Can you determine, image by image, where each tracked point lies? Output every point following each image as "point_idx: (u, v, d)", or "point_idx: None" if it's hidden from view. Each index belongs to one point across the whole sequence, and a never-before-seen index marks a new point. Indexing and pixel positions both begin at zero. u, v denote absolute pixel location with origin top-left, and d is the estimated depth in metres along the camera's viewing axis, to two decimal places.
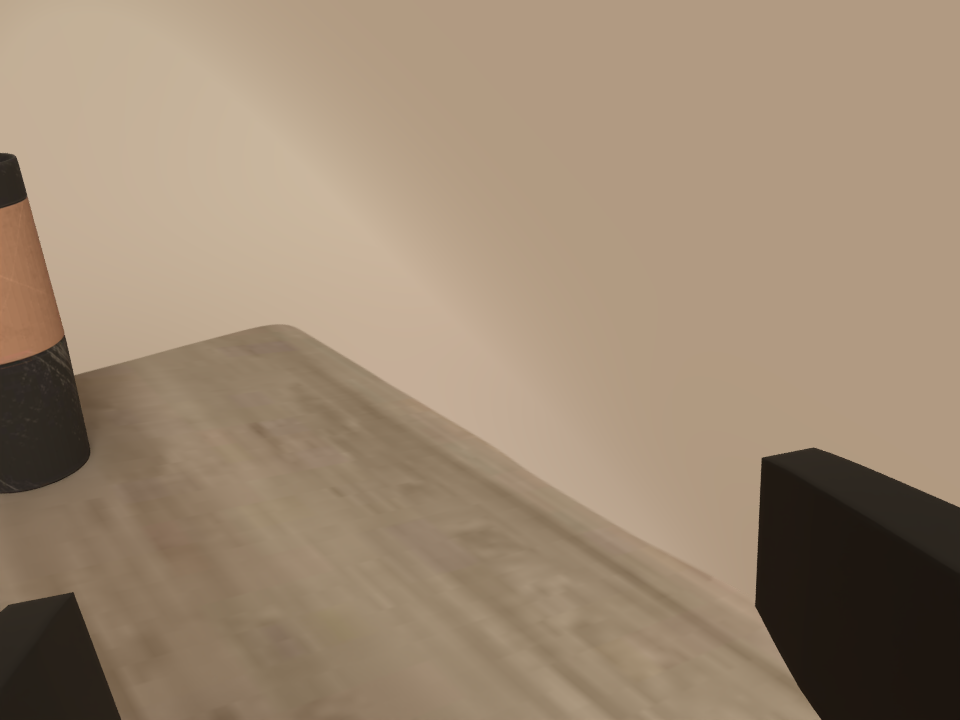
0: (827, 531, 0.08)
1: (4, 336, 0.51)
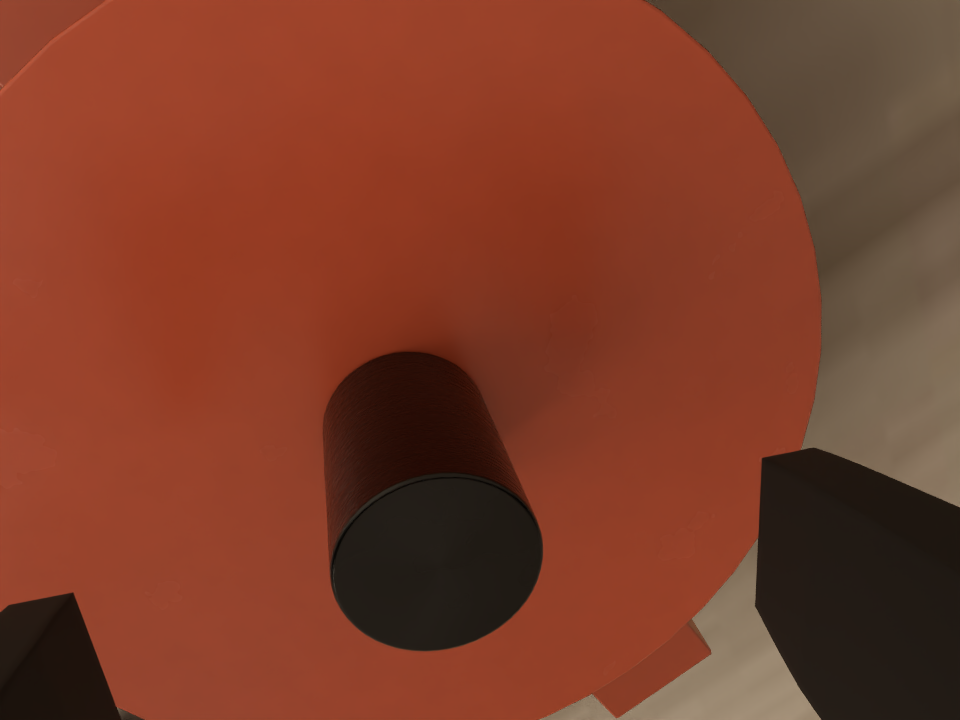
0: (827, 530, 0.08)
1: None
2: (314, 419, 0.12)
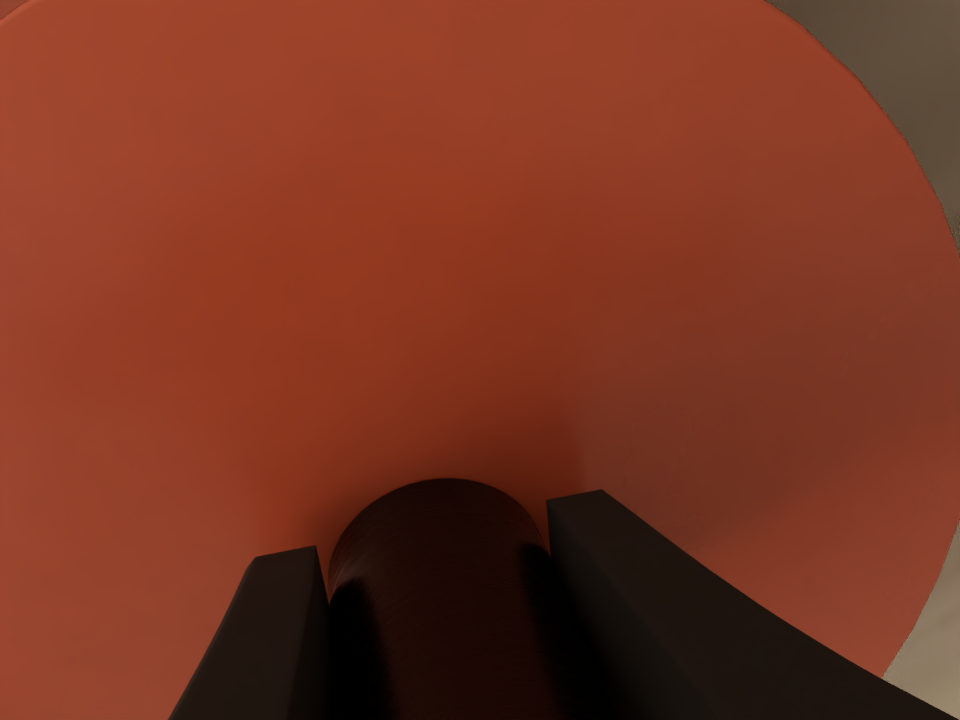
0: (584, 583, 0.08)
1: None
2: None
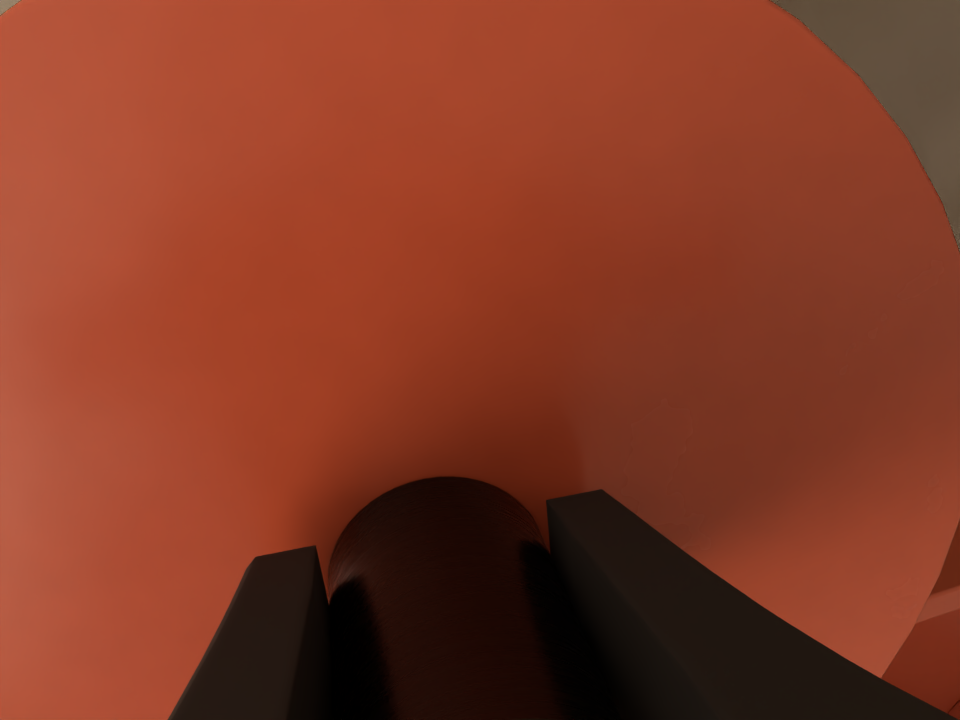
0: (583, 581, 0.08)
1: None
2: None
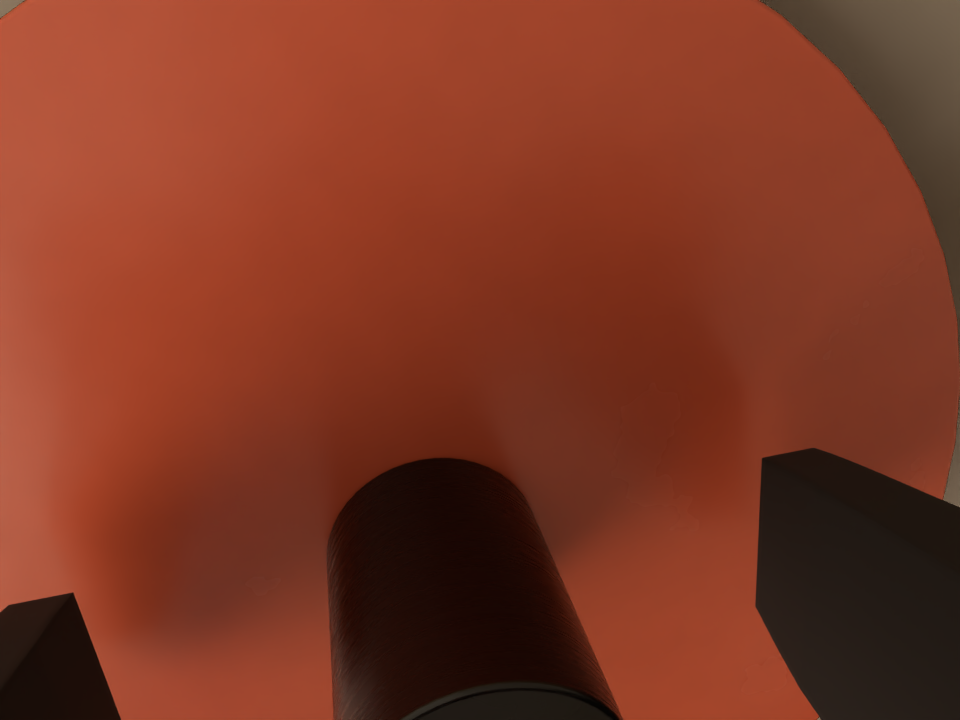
0: (827, 531, 0.08)
1: None
2: (316, 543, 0.10)
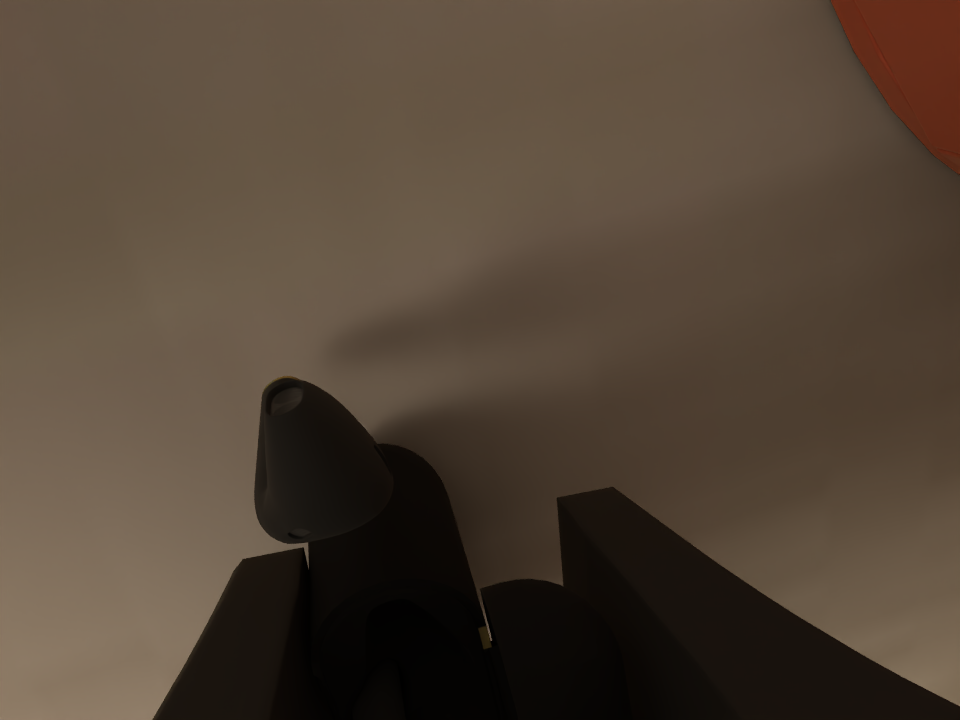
0: (595, 579, 0.08)
1: None
2: None
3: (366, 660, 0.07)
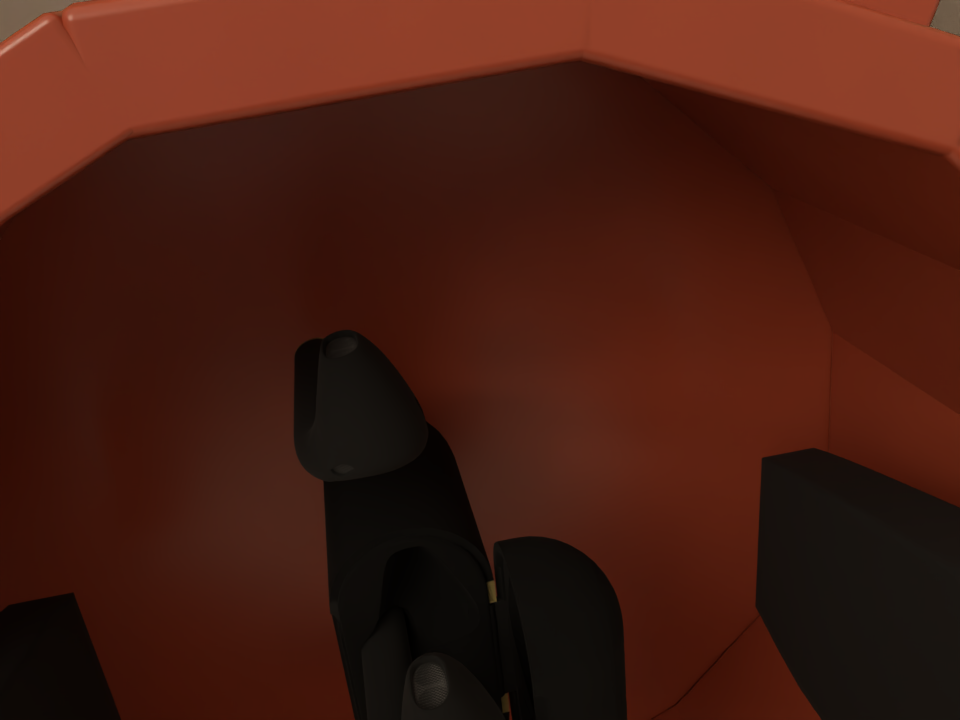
0: (826, 531, 0.08)
1: None
2: None
3: (381, 604, 0.08)
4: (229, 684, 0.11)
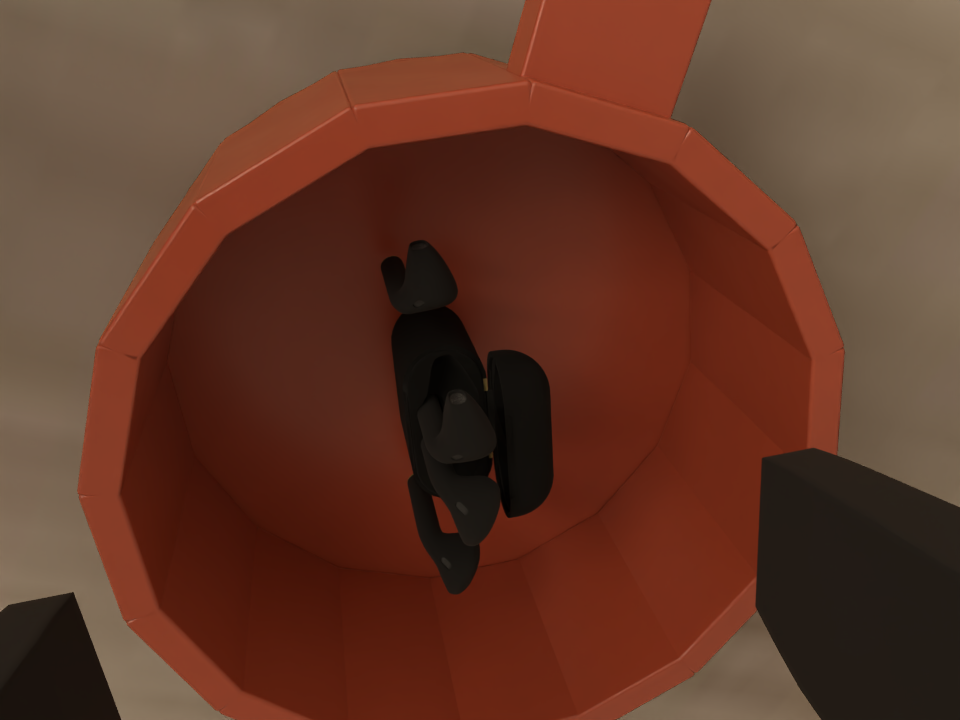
0: (826, 531, 0.08)
1: None
2: None
3: (428, 387, 0.15)
4: (322, 475, 0.19)
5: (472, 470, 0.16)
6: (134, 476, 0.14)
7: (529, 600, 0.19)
